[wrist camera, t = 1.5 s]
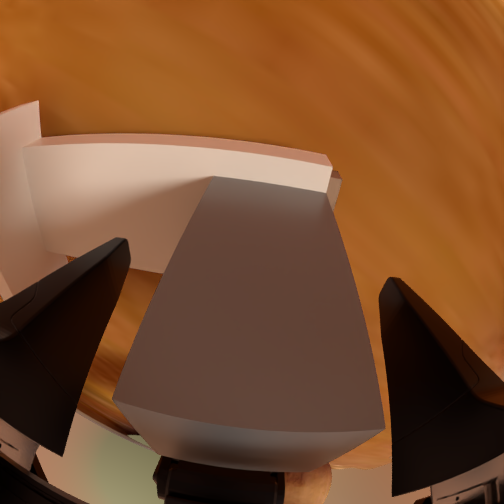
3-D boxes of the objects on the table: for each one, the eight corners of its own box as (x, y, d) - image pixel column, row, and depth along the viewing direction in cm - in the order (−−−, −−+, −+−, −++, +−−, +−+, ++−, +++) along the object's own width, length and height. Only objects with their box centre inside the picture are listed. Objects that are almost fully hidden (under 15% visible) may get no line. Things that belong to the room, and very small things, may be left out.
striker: (287, 300, 15) (284, 482, 7) (52, 258, 15) (-26, 374, 7) (336, 106, 9) (530, 282, 1) (21, 104, 9) (-126, 194, 1)
